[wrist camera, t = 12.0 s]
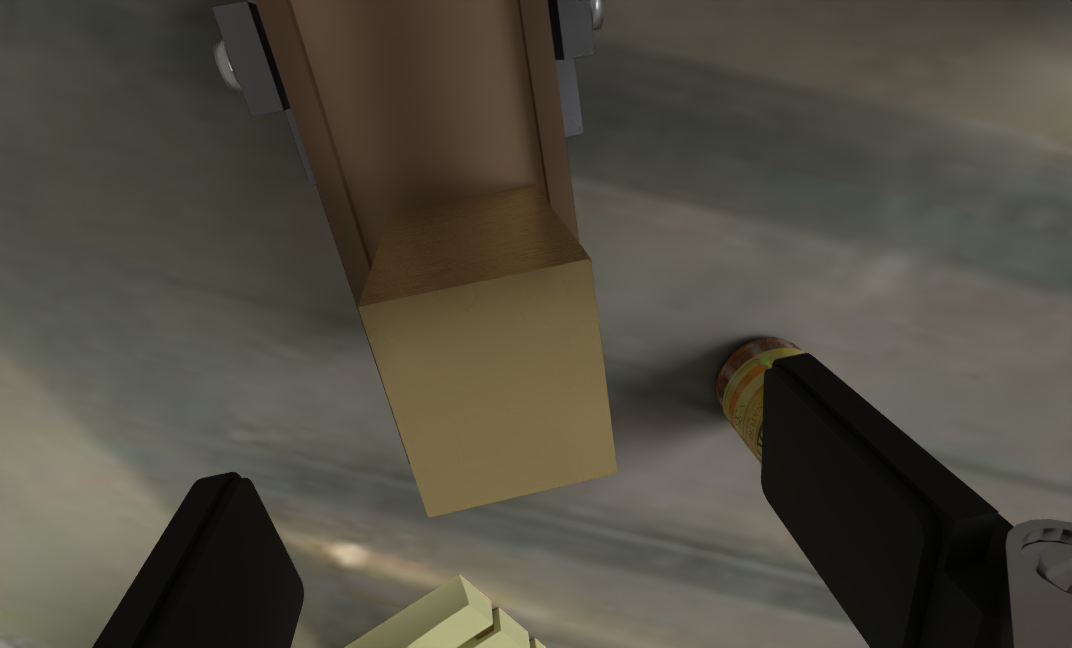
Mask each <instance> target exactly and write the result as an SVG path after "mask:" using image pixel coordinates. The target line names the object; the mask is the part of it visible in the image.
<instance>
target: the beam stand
mask: <svg viewBox="0 0 1072 648" xmlns="http://www.w3.org/2000/svg"><path fill="white" fill-rule="evenodd" d="M548 8H549V16H550V23H551V31H552V39H553V46H554V54H555V62H556V69H557V77H558V84H559V92H560V100H561V107H562V115H563V123H564V130H565V137H568V136H574V135H579V134H584V133H583V125H582V116H581V108H580V99H579V91H578V82H577V74H576V65H575V58H577V57H583V56H588V55H594V54H595V53H594V43H593V33H592V30H598V29H601V27H602V24H603V16H604V5H603V0H548ZM212 9H213V12H214V15H215V18H216V20H217V23H218V26H219V29H220V31H221V34H222V38H217V39H214V41H213V51H214V56H215V60H216V63H217V66H218V69H219V71H220V73H221V76H222V78H223V80H224V81H225V83H226V85H227V86H228V87H229V89H230V90H231V91H232V92H233V93H235V94H239V93H243V95H244V98H245V100H246V103H247V106H248V109H249V111H250V114H251V116H257V115H262V114H268V113H274V112H279V111H284V110H285V113H286V116H287V119H288V122H289V125H290V128H291V131H292V134H293V137H294V140H295V143H296V146H297V149H298V152H299V155H300V158H301V160H302V163H303V166H304V169H305V172H306V175H307V178H308V181H309V184H310V186H311V185H316V183H315V180H314V177H313V174H312V171H311V168H310V165H309V162H308V159H307V156H306V153H305V150H304V147H303V144H302V141H301V138H300V135H299V132H298V129H297V126H296V123H295V119H294V116H293V113H292V110H291V107H290V104H289V101H288V98H287V95H286V92H285V89H284V86H283V83H282V80H281V77H280V74H279V71H278V68H277V65H276V62H275V59H274V56H273V53H272V50H271V47H270V44H269V41H268V38H267V35H266V32H265V29H264V26H263V23H262V20H261V17H260V14H259V11H258V8H257V5H256V2H255V0H248V1H246V2H240V3H234V4H228V5H222V6H216V7H212Z"/></svg>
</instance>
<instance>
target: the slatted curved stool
mask: <svg viewBox="0 0 1072 648" xmlns="http://www.w3.org/2000/svg"><path fill="white" fill-rule="evenodd" d="M344 648H546V647H545V646H544V645H543V644H542V643H540V642H539V641H538V640H537V639H536V638H533V639H532V640H530V641H529V637H528V632H527V631H526V630H525V629H524V628H523V627H521V626H520V625H519V624H518V623H517V622H515V621H514V620H513V619H512V618H511V617H510V616H508V615H507V614H506V613H505V612H504V611H502V610H501V609H500V608H499V607H498V608H497V609H495V610H494V611H492V606H491V600H489V599H488V598H487V597H486V596H485V595H483V594H482V593H481V592H480V591H479V590H478V589H476V588H475V587H474V586H473V585H472V584H470V583H469V582H468V581H467V580H466V579H464V578H463V577H462V576H461V575H460V574H458V575H456V576H455V577H453V578H452V579H450V580H449V581H447V582H445V583H444V584H442V585H441V586H439V587H438V588H436V589H435V590H433V591H431V592H430V593H428V594H427V595H425V596H424V597H422V598H421V599H419V600H417V601H416V602H414V603H413V604H411V605H410V606H408V607H407V608H405V609H403V610H402V611H400V612H399V613H397V614H396V615H394V616H393V617H391V618H389V619H388V620H386V621H385V622H383V623H382V624H380V625H378V626H377V627H375V628H374V629H372V630H371V631H369V632H368V633H366V634H364V635H363V636H361V637H360V638H358V639H357V640H355V641H354V642H352V643H350V644H349V645H347V646H346V647H344Z"/></svg>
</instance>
